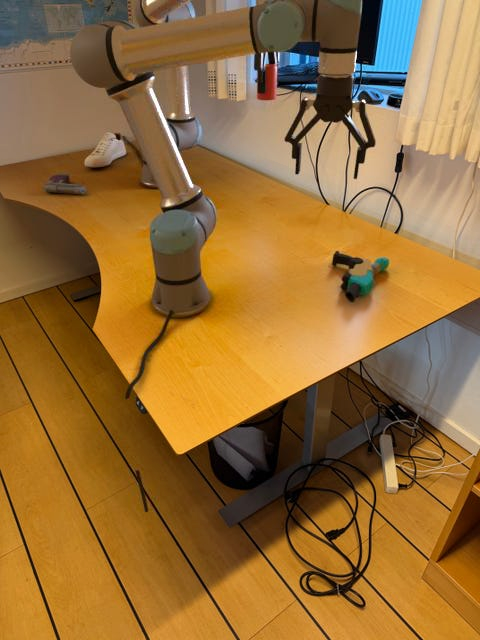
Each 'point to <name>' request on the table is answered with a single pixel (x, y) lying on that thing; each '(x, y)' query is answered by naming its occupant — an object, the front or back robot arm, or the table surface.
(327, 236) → the table surface
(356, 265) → the toy gun
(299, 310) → the table surface
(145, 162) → the back robot arm
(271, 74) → the canister
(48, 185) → the toy gun
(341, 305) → the table surface
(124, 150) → the sneaker
